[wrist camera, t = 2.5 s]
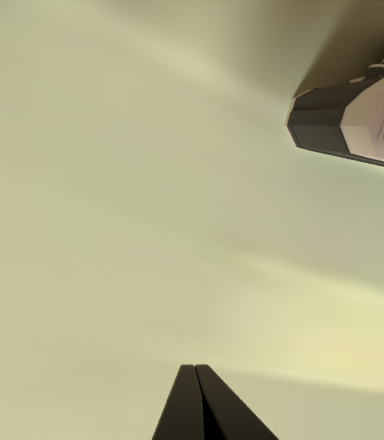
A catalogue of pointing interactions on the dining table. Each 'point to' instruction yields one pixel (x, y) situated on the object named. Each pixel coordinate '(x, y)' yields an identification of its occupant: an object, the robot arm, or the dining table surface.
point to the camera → (342, 119)
